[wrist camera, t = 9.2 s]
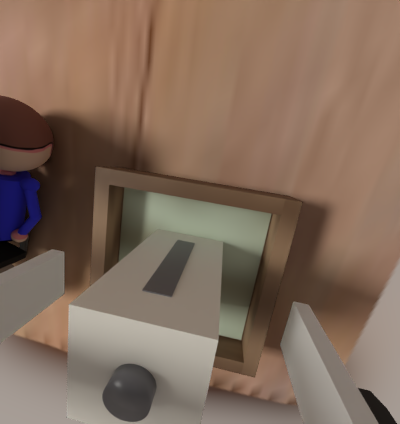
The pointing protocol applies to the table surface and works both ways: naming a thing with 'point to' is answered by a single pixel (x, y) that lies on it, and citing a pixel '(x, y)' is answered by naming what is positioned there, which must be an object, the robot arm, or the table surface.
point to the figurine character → (19, 175)
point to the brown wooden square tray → (211, 229)
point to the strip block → (147, 335)
